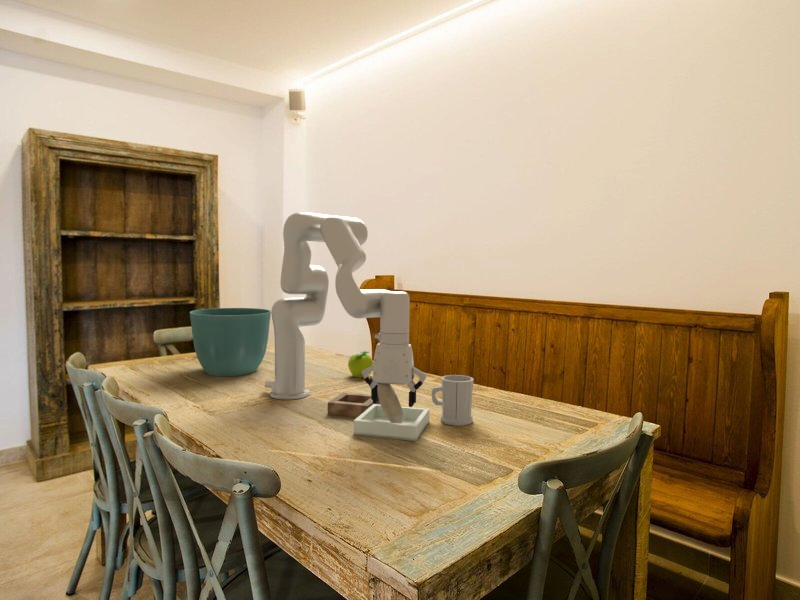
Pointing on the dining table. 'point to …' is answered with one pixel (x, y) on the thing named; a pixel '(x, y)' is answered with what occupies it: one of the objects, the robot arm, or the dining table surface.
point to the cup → (455, 399)
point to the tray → (380, 426)
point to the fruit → (359, 364)
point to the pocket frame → (350, 404)
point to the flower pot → (230, 339)
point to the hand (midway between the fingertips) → (393, 404)
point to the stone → (390, 403)
